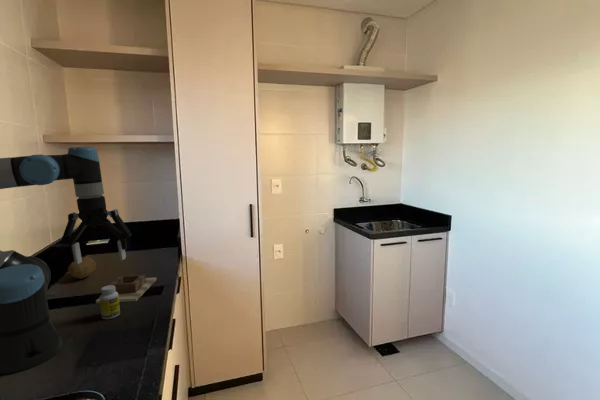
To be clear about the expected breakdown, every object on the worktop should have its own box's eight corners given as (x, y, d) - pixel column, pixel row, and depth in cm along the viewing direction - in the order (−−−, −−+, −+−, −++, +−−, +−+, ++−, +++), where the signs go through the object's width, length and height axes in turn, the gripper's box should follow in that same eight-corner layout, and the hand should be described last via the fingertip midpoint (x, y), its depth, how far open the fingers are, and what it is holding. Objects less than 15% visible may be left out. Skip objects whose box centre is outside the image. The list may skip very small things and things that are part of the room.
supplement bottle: (112, 320, 104) (108, 291, 102) (97, 319, 105) (93, 290, 104) (124, 312, 109) (121, 284, 108) (110, 311, 110) (107, 283, 109)
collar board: (136, 301, 117) (135, 289, 117) (96, 303, 116) (94, 291, 116) (156, 279, 137) (155, 269, 136) (122, 281, 136) (120, 271, 135)
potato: (64, 285, 134) (61, 266, 133) (75, 273, 148) (73, 256, 146) (91, 281, 137) (88, 263, 136) (100, 270, 150) (98, 253, 149)
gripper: (136, 192, 107) (145, 253, 111) (54, 197, 104) (66, 260, 108) (127, 195, 100) (137, 261, 103) (39, 201, 97) (52, 269, 100)
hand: (101, 261), depth 106 cm, fingers open, 13 cm apart
